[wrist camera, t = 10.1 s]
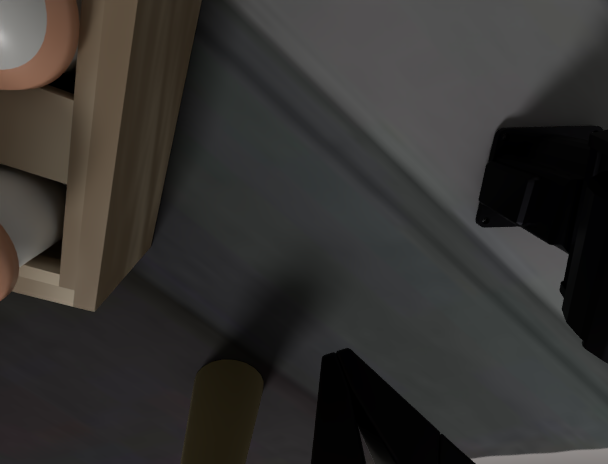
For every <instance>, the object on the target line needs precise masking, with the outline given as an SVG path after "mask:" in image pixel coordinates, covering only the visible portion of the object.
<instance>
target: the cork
mask: <svg viewBox="0 0 608 464" xmlns="http://www.w3.org/2000/svg"><path fill="white" fill-rule="evenodd" d="M263 383H264V382H263V379H262V377H261V374H260V373H259V372H258V371H257V370H256V369H255V368H254V367H252V366H250V365H248V364H247V363H244V362H241V361H237V360H224V359H223V360H218V361H213V362H211V363H209V364H207V365H205V366H203V367H202V368H201V369H200V370H199V371H198V372H197V375H196V377H195V380H194V386H193V392H192V398H191V404H190V410H189V416H188V422H187V428H186V434H185V440H184V446H183V452H182V458H181V464H245V463H246V458H247V454H248V450H249V446H250V442H251V438H252V434H253V429H254V425H255V421H256V417H257V413H258V409H259V405H260V400H261V396H262V392H263Z"/></svg>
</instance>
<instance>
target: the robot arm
mask: <svg viewBox="0 0 608 464" xmlns="http://www.w3.org/2000/svg"><path fill="white" fill-rule="evenodd" d="M592 132H593V133H592ZM505 133H506V138H505V139H504V140H502V136H503V135H504V134H505ZM479 201H480V202H479V207H478V211H477V215H476V223H477V224H478V225H480V226H481V227H484V228H485V227H515V226H519V227H522V228H523V229H525V230H527V231H528V232H530V233H532V234H533V235H535V236H536V237H538V238H540V239H541V240H543V241H545V242H546V243H548V244H550V245H554V246H556V247H558V248H559V249H561V250H563V251H564V252H566V253H568V254H569V257H568V262H567V267H566V272H565V277H564V281H562V282H561V285H560V292H561V294H562V296H563V297H564V300H563V305H562V311H563V314H564V317H565V320H566V323H567V324H568V325H569V326H570V327H571V328H572V329H573V330H574V332H575V333H576V334H577V335H578V336H579V337H580V338H581V339H582V340H583V341H582V346H583V347H584V348H585V349H586V350H588V351H589V352H591V353H592V354H594V355H595V356H597V357H598V358H600V359H601V360H603V361H604V362H606V363H608V130H604V131H603V129H602V128H601V127H599V126H592V125H591V126H552V127H514V128H501V129H499V130H498V131H497V132H496V133H495V136H494V140H493V144H492V149H491V153H490V157H489V162H488V164H487V165H486V169H485V173H484V178H483V182H482V187H481V191H480V196H479ZM486 217H487V219H486V220H485V221H484V222H482V221H483V219H484V218H486ZM358 427H359V428H358ZM359 429H360V432H361V434H362V436H363V439H364V441H365V443H366V445H367V447H368V450H369V452H370V454H371V456H372V458H373V461H374V463H375V464H475V463H474V462H473V461H472V460H471V459H470V458H469V457H467V456H466V455H465V454H464V453H463V452H462V451H461V450H459V449H458V448H457V447H456V446H455V445H454V444H453V443H452V442H451V441H449V440H448V439H447V438H446V437H445V436H444V435H443V434H440V432H439V431H438V430H437V429H436V428H435V427H434V426H433V425H432V424H431V423H430V422H429V421H428V420H427V419H426V418H424V417H423V416H422V415H421V414H420V413H419V412H418V411H417V410H416V409H415V408H414V407H413V406H411V405H410V404H409V403H408V402H407V401H406V400H405V399H404V398H403V397H402V396H401V395H400V394H398V393H397V392H396V391H395V390H394V389H393V388H392V387H391V386H390V385H389V384H388V383H387V382H385V381H384V380H383V379H382V378H381V377H380V376H379V375H378V374H377V373H376V372H375V371H374V370H373V369H371V368H370V367H369V366H368V365H367V364H366V363H365V362H364V361H363V360H362V359H361V358H360V357H358V356H357V355H356V354H355V353H354V352H353V351H352V350H351V349H349V348H345V349H342V350H339V351H337V352H336V353H334V352H333V353H330V354H326V355H324V356H323V357H322V362H321V372H320V382H319V391H318V401H317V411H316V420H315V430H314V440H313V449H312V459H311V464H366V460H365V456H364V451H363V446H362V442H361V437H360V433H359Z"/></svg>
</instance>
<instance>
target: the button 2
mask: <svg viewBox="0 0 608 464" xmlns="http://www.w3.org/2000/svg"><path fill="white" fill-rule="evenodd" d="M66 191H67V187H66V186H65V185H64V184H63V183H61V182H58V181H54V180H51V179H48V178H45V177H42V176H38V175H35V174H32V173H29V172H26V171H23V170H19V169H16V168H13V167H10V166H7V165H3V164H0V301H1V300H3V299H4V298H5V297H6V296H8V295H9V294H10V292H11V291H12V290H13V289H14V287H15V285H16V283H17V280H18V276H19V267H21V266H22V265H24V264H25V263H27V262H28V261H30V260H31V259H33V258H34V257H36V256H37V255H38V254H40V253H41V252H43V251H44V250H46V249H47V248H49V247H50V246H52V245H53V244H55V243H56V242H58V241H59V240H61V239H62V238H63V228H64V216H65V203H66Z"/></svg>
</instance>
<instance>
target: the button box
mask: <svg viewBox="0 0 608 464" xmlns="http://www.w3.org/2000/svg"><path fill="white" fill-rule="evenodd" d="M201 2H202V0H82V3H81V15H80V28H79V40H78V53H77V65H76V78H75V91H74V94H73V93H70V92H67V91H64V90H62V89H59V88H56V87H53V86H51V85H48V84H47V85H45V86H43V87H39V88H35V89H28V90H0V164H3V165H7V166H10V167H13V168H16V169H19V170H23V171H26V172H29V173H32V174H35V175H38V176H42V177H45V178H48V179H51V180H54V181H58V182H61V183H64V184H67V191H66V203H65V216H64V228H63V238H62V239H61V240H59V241H58V242H56V243H55V244H53V245H52V246H50V247H49V248H47V249H46V250H44V251H43V252H41V253H40V254H38V255H37V256H36V257H34V258H33V259H31V260H30V261H28V262H27V263H25V264H24V265H22V266H21V267H19V276H18V280H17V283H16V285H15V287H14V289H13V290H12V291H13V292H17V293H21V294H25V295H29V296H33V297H37V298H41V299H45V300H49V301H53V302H57V303H61V304H65V305H69V306H73V307H77V308H81V309H85V310H89V311H93V312H95V311H96V310H97V308H98V307H99V306H100V305H101V304H102V303H103V301H104V300H105V299H106V298H107V297H108V296H109V295H110V293H111V292H112V291H113V290H114V289H115V288H116V286H117V285H118V284H119V283H120V282H121V281H122V279H123V278H124V277H125V276H126V275H127V274H128V273H129V271H130V270H131V269H132V268H133V267H134V266H135V264H136V263H137V262H138V261H139V260H140V259H141V258H142V256H143V255H144V254H145V253H146V252H147V251H148V249H149V248H150V247H151V244H152V239H153V234H154V229H155V224H156V220H157V215H158V210H159V205H160V200H161V195H162V191H163V186H164V181H165V176H166V171H167V166H168V161H169V157H170V152H171V147H172V142H173V137H174V132H175V128H176V123H177V118H178V113H179V108H180V103H181V99H182V94H183V89H184V84H185V79H186V74H187V70H188V65H189V60H190V55H191V50H192V45H193V41H194V36H195V31H196V26H197V21H198V16H199V12H200V7H201Z"/></svg>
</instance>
